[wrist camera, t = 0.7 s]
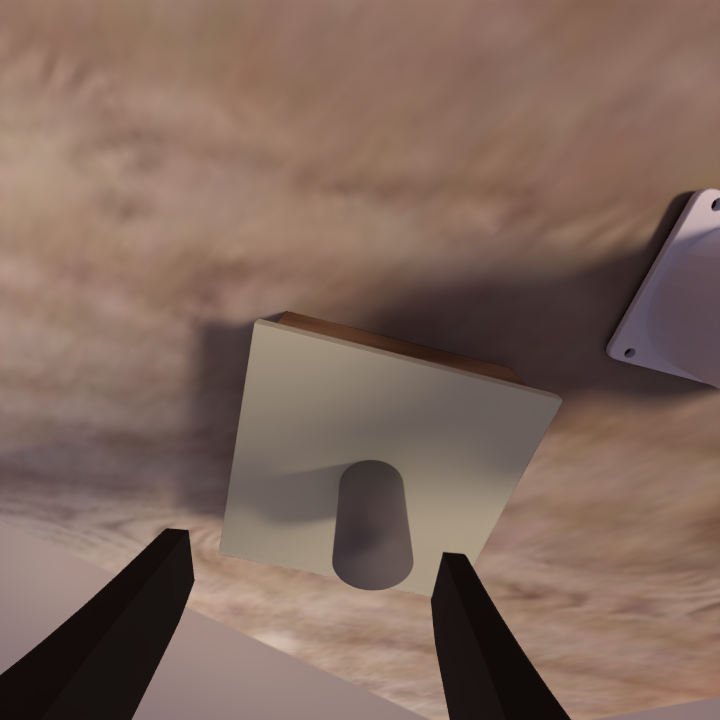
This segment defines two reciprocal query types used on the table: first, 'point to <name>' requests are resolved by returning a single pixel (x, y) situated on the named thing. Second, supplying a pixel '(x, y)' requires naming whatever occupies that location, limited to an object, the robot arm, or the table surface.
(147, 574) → the robot arm
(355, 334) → the walnut crate
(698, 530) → the table surface
